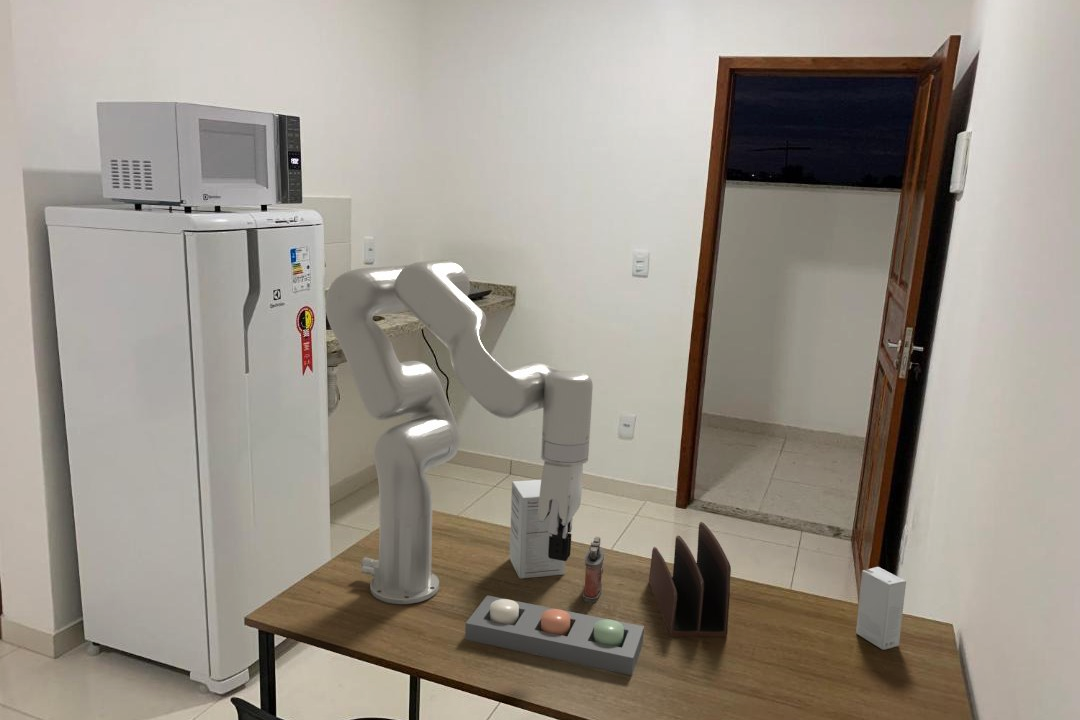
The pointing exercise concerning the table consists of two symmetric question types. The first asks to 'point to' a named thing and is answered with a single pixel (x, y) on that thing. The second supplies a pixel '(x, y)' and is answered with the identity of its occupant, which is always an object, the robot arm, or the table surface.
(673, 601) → the letter holder
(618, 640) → the sage button
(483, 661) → the table surface
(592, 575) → the lighter
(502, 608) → the cream button
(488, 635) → the button panel
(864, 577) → the skincare box
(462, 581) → the table surface
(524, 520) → the supplement box
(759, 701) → the table surface
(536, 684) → the table surface
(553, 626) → the terracotta button
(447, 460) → the robot arm
